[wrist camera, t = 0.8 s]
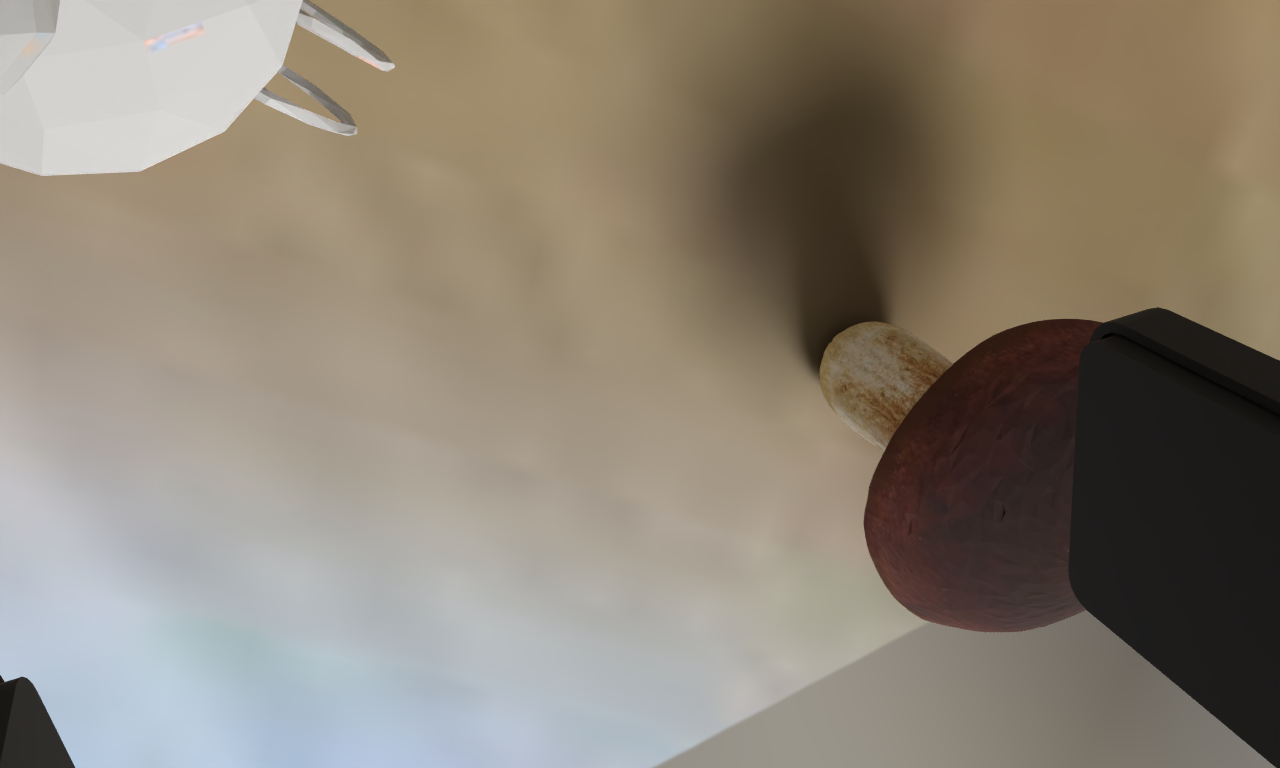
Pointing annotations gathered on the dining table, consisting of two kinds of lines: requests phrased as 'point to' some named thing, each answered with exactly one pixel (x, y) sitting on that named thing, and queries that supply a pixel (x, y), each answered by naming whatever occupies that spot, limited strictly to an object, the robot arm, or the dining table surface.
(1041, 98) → the dining table surface
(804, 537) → the dining table surface
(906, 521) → the decorative mushroom
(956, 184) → the dining table surface
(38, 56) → the french press
